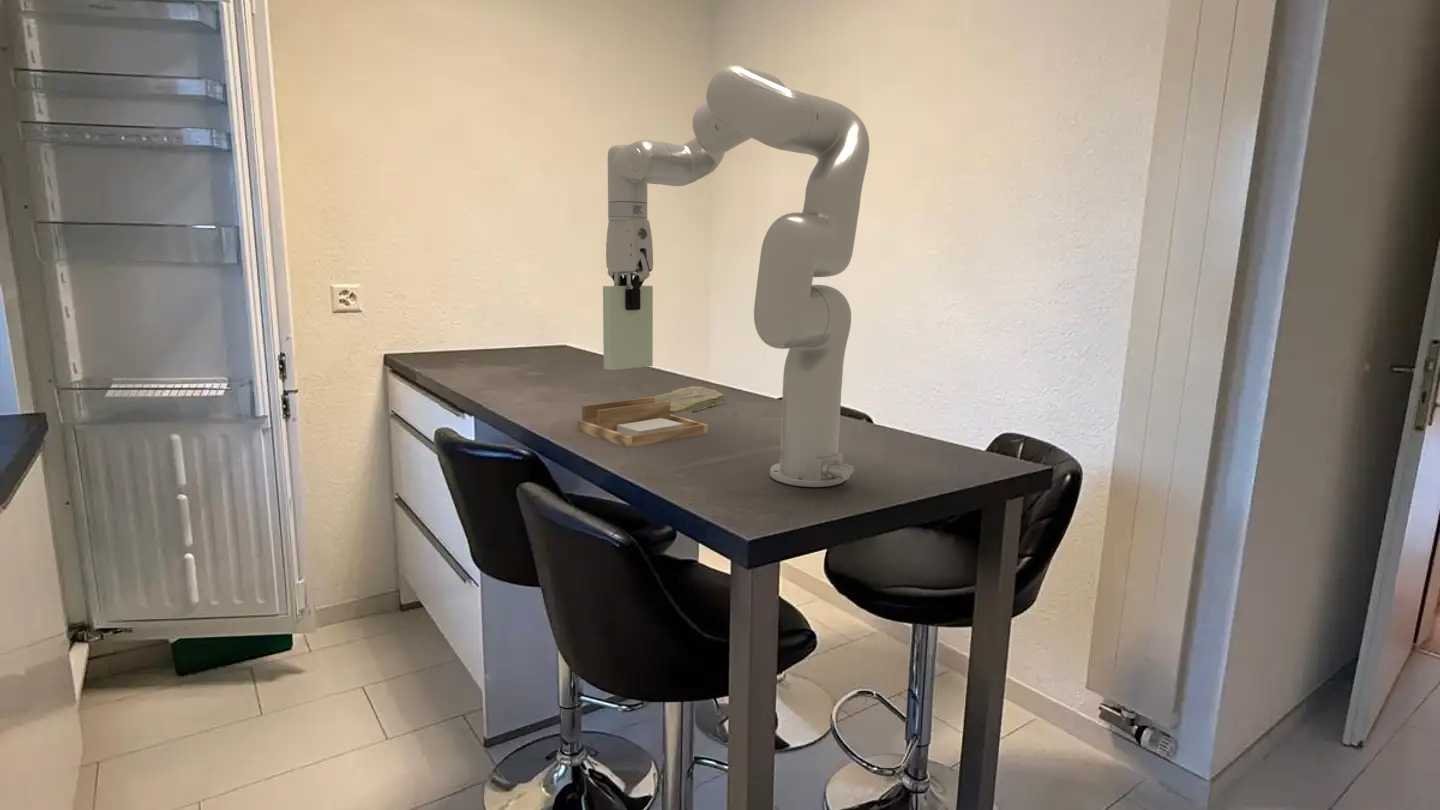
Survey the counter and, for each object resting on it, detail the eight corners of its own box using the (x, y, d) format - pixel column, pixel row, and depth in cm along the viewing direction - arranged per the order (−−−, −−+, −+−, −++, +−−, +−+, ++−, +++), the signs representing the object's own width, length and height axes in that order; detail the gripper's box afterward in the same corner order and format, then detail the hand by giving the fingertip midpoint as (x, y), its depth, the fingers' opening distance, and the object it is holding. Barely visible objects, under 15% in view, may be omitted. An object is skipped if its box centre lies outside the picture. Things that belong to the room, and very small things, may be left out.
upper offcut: (683, 433, 155) (683, 423, 155) (639, 441, 148) (639, 431, 148) (660, 427, 160) (661, 418, 160) (616, 435, 153) (616, 425, 152)
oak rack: (707, 439, 156) (708, 409, 155) (627, 453, 144) (627, 421, 143) (655, 423, 169) (655, 396, 168) (577, 435, 156) (577, 405, 155)
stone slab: (735, 389, 197) (670, 404, 171) (734, 405, 198) (669, 422, 172) (692, 383, 203) (623, 396, 177) (691, 399, 204) (622, 415, 178)
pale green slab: (652, 366, 160) (652, 285, 157) (610, 370, 153) (610, 286, 150) (645, 364, 162) (645, 285, 159) (603, 368, 155) (602, 286, 152)
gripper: (668, 212, 148) (668, 311, 152) (620, 215, 160) (621, 306, 164) (636, 210, 143) (636, 312, 147) (588, 213, 155) (589, 307, 159)
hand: (628, 308), depth 155 cm, fingers closed on pale green slab, 2 cm apart
